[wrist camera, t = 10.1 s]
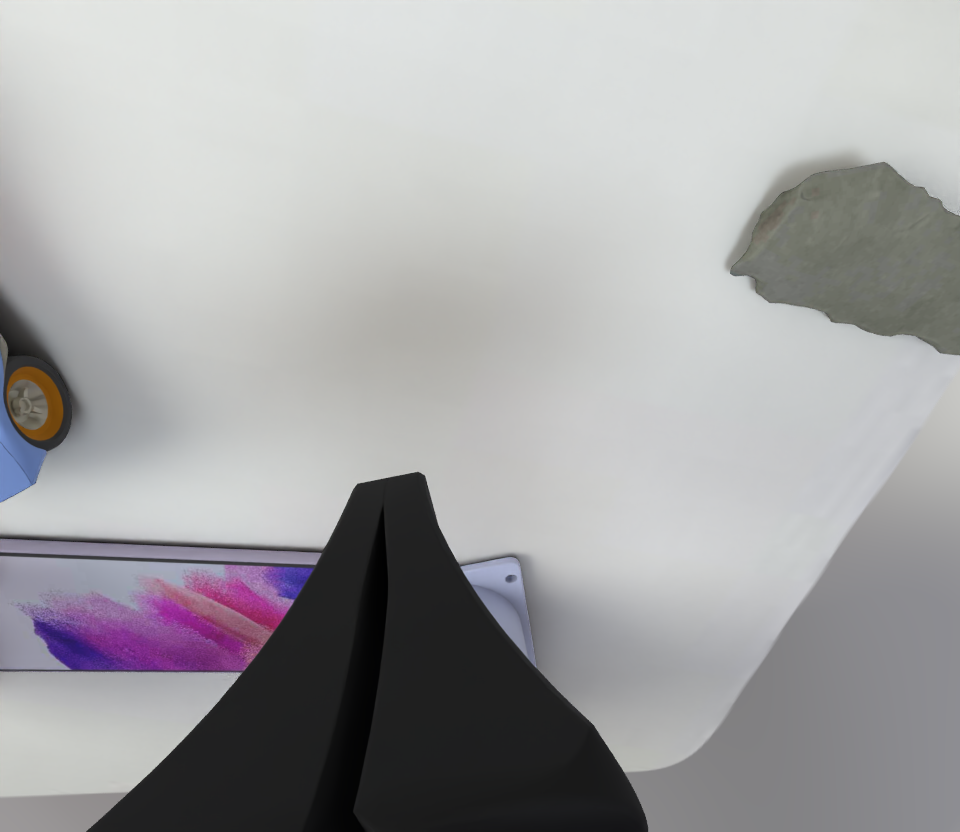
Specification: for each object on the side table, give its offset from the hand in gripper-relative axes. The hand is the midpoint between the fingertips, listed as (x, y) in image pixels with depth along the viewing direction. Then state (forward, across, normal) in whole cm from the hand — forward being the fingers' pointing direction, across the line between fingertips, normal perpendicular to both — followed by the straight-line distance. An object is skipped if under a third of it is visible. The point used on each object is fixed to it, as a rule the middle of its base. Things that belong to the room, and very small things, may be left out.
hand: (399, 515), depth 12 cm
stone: (+8, -19, 0) cm, 20 cm away
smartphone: (+9, +13, +10) cm, 19 cm away
